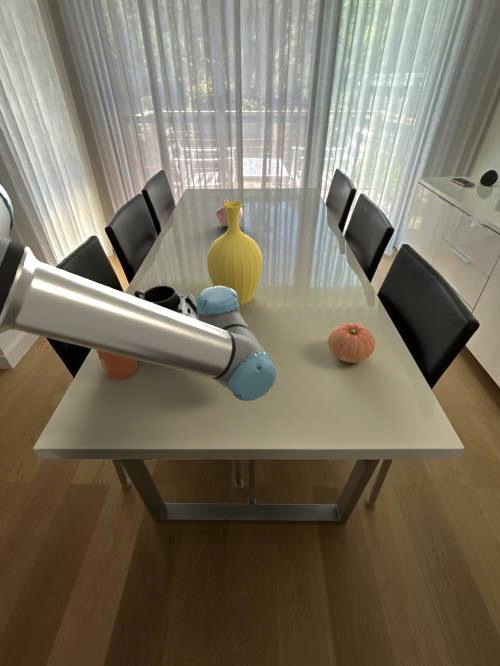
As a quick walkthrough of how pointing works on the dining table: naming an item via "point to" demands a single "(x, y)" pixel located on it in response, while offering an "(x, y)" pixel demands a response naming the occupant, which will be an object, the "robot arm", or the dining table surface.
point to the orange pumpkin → (351, 342)
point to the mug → (160, 297)
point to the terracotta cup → (117, 365)
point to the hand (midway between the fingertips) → (150, 296)
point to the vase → (235, 258)
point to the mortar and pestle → (225, 215)
